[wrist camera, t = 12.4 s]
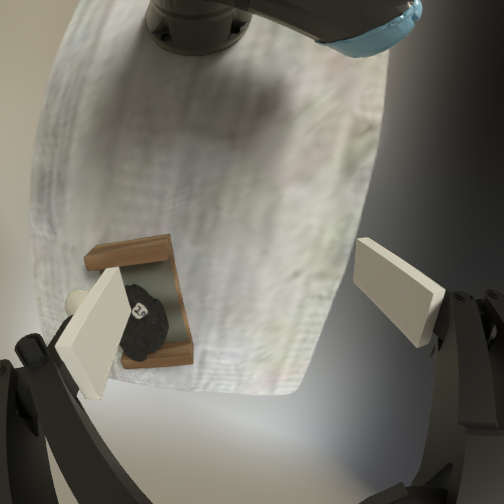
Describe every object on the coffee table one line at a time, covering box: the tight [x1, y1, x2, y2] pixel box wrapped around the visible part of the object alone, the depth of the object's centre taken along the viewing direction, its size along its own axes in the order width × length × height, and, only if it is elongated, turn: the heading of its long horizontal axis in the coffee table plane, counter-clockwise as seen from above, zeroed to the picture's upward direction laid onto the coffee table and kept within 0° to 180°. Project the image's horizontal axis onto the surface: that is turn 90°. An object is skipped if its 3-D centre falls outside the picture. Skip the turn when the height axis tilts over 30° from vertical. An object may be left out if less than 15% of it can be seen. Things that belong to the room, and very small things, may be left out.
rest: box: [84, 234, 194, 369], centre depth 39 cm, size 20×12×5 cm, turn 5°
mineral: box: [119, 284, 169, 362], centre depth 38 cm, size 10×9×6 cm
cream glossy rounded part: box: [65, 290, 89, 317], centre depth 40 cm, size 8×8×1 cm
